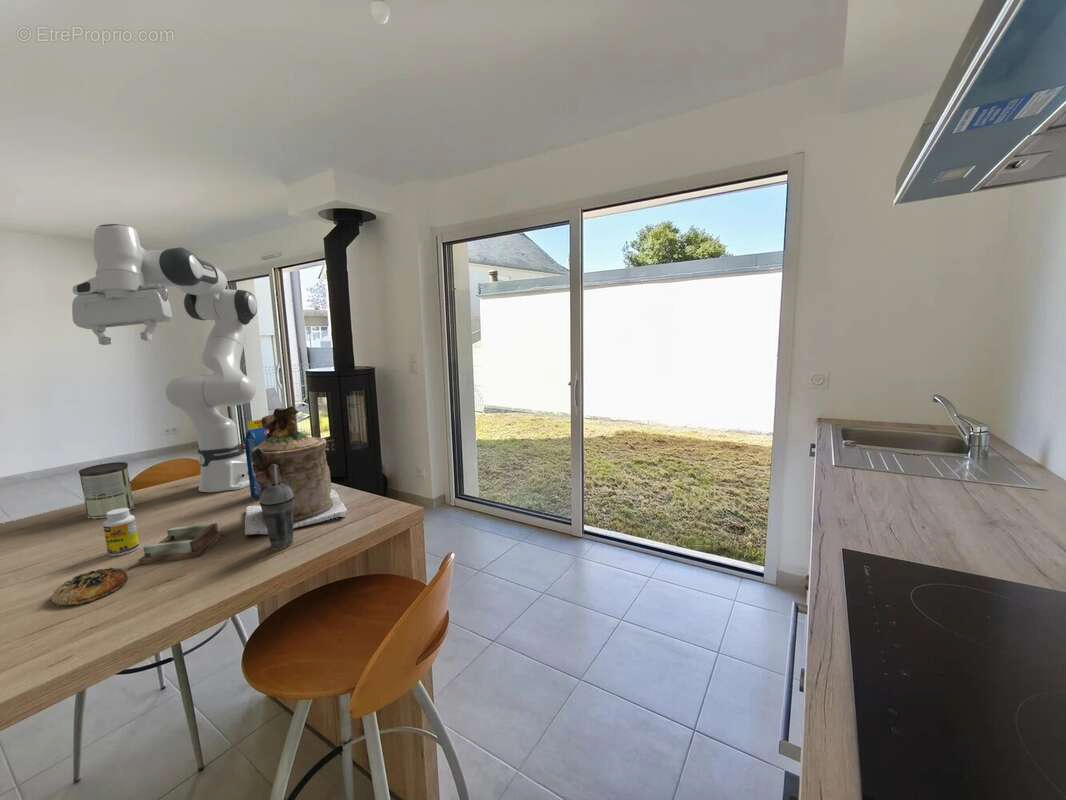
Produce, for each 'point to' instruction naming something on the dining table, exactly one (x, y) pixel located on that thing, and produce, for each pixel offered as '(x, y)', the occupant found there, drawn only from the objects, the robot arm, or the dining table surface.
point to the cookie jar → (293, 473)
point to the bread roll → (89, 586)
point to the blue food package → (252, 440)
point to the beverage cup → (278, 513)
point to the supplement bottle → (120, 532)
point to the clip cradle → (182, 543)
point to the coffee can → (106, 488)
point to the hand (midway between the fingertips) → (126, 342)
